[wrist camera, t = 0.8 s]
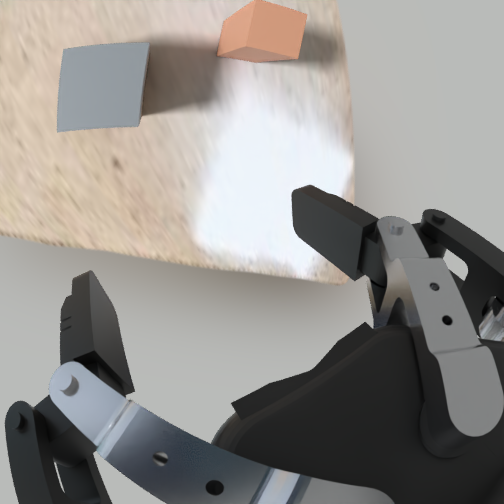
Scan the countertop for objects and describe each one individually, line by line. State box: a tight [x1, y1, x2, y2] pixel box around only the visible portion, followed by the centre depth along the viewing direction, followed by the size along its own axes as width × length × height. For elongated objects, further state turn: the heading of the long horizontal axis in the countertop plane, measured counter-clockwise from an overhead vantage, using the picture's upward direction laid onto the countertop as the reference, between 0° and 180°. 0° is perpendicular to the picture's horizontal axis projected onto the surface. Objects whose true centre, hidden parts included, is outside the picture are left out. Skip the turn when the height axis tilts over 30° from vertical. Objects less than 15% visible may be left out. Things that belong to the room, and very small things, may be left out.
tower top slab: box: [57, 43, 150, 132], centre depth 19 cm, size 8×8×4 cm
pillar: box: [217, 0, 307, 63], centre depth 22 cm, size 5×5×11 cm
